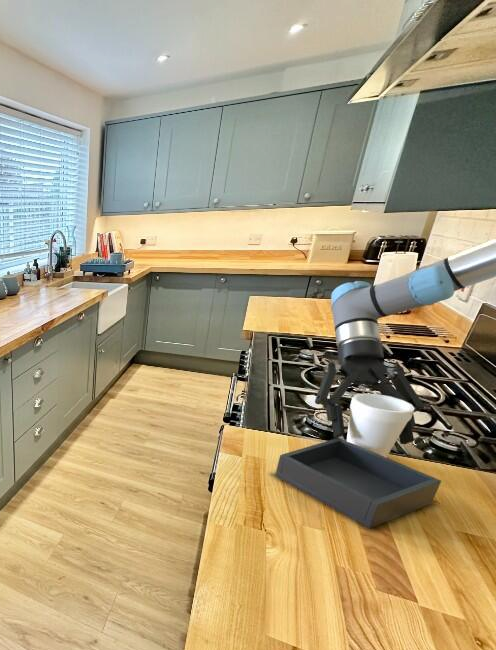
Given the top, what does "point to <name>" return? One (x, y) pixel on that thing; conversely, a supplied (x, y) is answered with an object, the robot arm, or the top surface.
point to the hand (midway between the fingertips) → (372, 439)
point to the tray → (357, 481)
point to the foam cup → (377, 421)
